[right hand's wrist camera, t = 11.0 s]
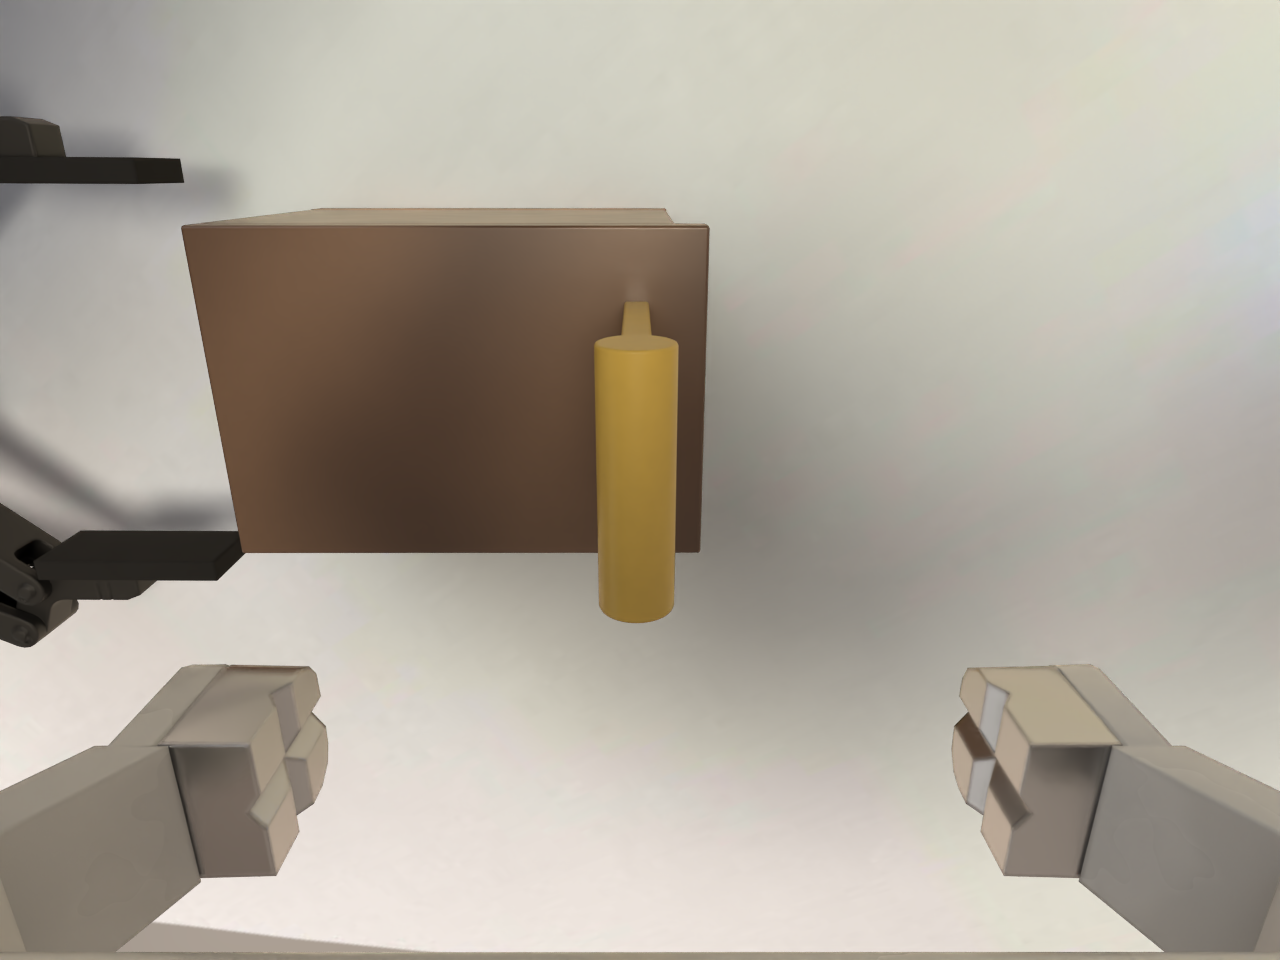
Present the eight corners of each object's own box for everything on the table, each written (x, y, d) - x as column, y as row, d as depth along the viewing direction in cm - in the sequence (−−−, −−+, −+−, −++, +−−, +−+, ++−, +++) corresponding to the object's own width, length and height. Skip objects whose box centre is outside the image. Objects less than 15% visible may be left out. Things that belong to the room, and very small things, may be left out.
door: (707, 223, 24) (743, 250, 16) (698, 540, 27) (723, 696, 19) (197, 223, 24) (-32, 250, 16) (254, 541, 27) (93, 696, 19)
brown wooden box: (664, 208, 33) (675, 223, 24) (662, 446, 36) (670, 540, 27) (321, 208, 33) (197, 223, 24) (352, 446, 36) (255, 540, 27)
